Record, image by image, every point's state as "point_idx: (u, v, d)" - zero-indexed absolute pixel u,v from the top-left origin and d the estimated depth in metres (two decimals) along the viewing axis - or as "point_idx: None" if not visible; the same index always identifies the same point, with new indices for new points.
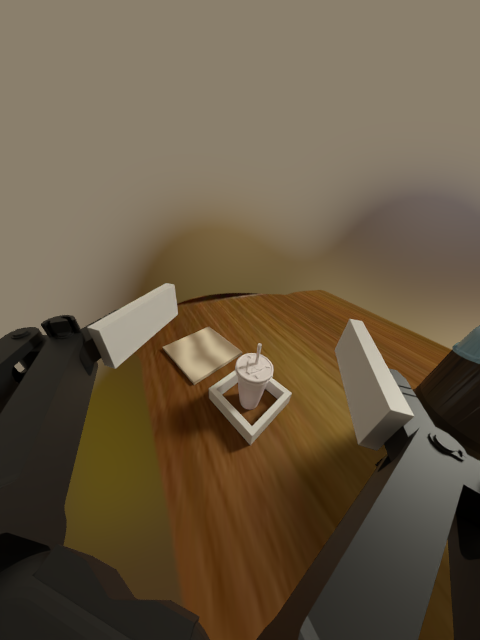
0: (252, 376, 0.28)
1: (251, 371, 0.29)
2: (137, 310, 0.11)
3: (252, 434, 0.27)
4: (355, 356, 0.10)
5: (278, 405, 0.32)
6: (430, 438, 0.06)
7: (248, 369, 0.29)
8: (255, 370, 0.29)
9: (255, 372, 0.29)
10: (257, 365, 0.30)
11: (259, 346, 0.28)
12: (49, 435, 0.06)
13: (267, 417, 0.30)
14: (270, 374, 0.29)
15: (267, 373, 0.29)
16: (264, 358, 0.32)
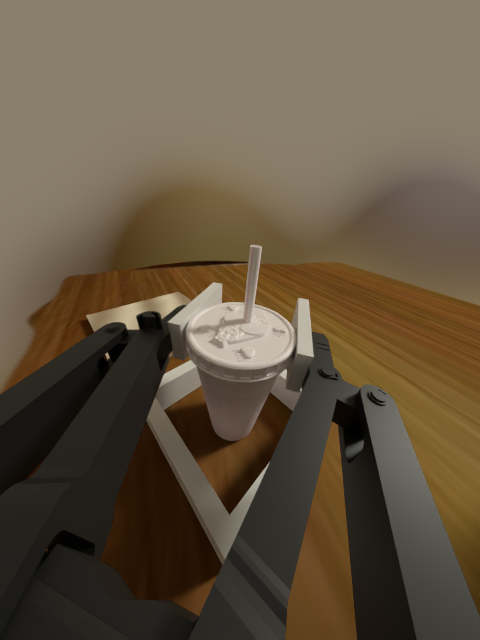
0: (232, 353, 0.09)
1: (230, 338, 0.09)
2: (200, 307, 0.12)
3: None
4: (295, 325, 0.12)
5: None
6: (319, 371, 0.08)
7: (221, 333, 0.10)
8: (243, 336, 0.10)
9: (243, 340, 0.09)
10: (249, 324, 0.10)
11: (255, 251, 0.08)
12: (118, 429, 0.06)
13: None
14: (289, 347, 0.09)
15: (279, 345, 0.09)
16: (269, 312, 0.12)
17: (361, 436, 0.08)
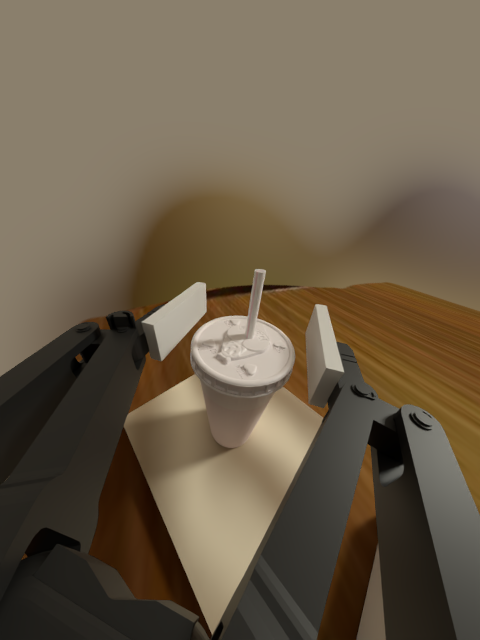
0: (235, 369, 0.09)
1: (233, 354, 0.10)
2: (179, 307, 0.12)
3: None
4: (314, 334, 0.11)
5: None
6: (352, 388, 0.07)
7: (225, 349, 0.10)
8: (245, 352, 0.10)
9: (245, 356, 0.10)
10: (251, 340, 0.11)
11: (259, 276, 0.09)
12: (96, 428, 0.06)
13: None
14: (288, 364, 0.10)
15: (279, 362, 0.10)
16: (269, 327, 0.13)
17: (398, 460, 0.07)
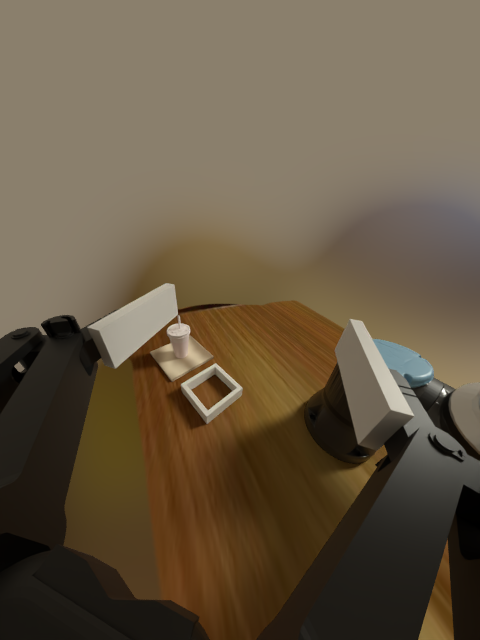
0: (174, 334, 0.50)
1: (174, 331, 0.51)
2: (137, 310, 0.11)
3: (207, 415, 0.39)
4: (355, 356, 0.10)
5: (230, 396, 0.43)
6: (430, 438, 0.06)
7: (173, 330, 0.51)
8: (177, 331, 0.51)
9: (177, 332, 0.51)
10: (179, 329, 0.52)
11: (178, 316, 0.50)
12: (49, 435, 0.06)
13: (220, 404, 0.42)
14: (185, 333, 0.51)
15: (184, 333, 0.51)
16: (186, 326, 0.53)
17: None
